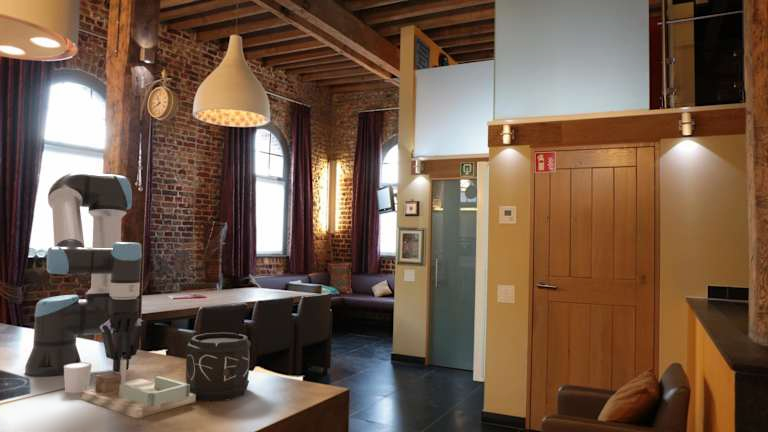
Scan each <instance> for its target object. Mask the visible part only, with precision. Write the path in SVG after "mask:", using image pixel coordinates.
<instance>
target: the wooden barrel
mask: <svg viewBox="0 0 768 432" xmlns="http://www.w3.org/2000/svg"><path fill="white" fill-rule="evenodd" d="M250 347H251V341H250V340H249V338H248V336H247V335H245V334H241V333H238V334H237V332H236V333H235V332H234V333H233V332H207V333H202V334H197V335H193V337H192V338H191V339H190V341H189V342H188V344H186V348H185V349H187V355H186V362H185V383H186V384H190V393H193V394H196V400H195V401H205V400H209V401H208V402H218V401H219V400H220V401H228V400H227V399H230V400H233V398H234V399H236V398H235V397H237V398H239V397H242V396H244V395H245V392H246V390H248V387H249V382H250V380H248V379H249V373H250V357H251V354H250V353H251V352H250ZM241 395H242V396H241ZM238 396H239V397H238ZM220 401H219V402H220Z"/></svg>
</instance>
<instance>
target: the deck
mask: <svg viewBox="0 0 768 432" xmlns="http://www.w3.org/2000/svg"><path fill="white" fill-rule="evenodd" d="M124 384H126V385H130V386H133V387H136V388H140V389H143V390H146V391H150V392H156V391H160V389H157V388H154V385H155V381H150V380H146V379H143V378H135V379H132V380H131V379H130V380H126V381H125V383H124ZM80 397H81V398H80V399H81V400H84V401H87V402H88V403H89V402H90V403H93V404H95V405H98V406H100V407H104V408H106V409H109V410H112V411H115V412H117V413H121V414H124V415H126V416H129V417H132V418H135V419H140V418H144V417H147V416H148V417H149V416H150V415H155V414H157V413H160V412H165V411H168V410H172V409H175V408H179V407H182V406H185V405H188V404H193V403H195V402H196V401H197V400H196V394H193V393H190V396H188V397H184V398H180V399H177V400H173V401H169V402H166V403H162V404H158V405H155V406H151V407H150V406H147V405H144V404H141V403H138V402H135V401H132V400H129V399H126V398H123V397H120V396H119V390H118V391H114V392H109V393H105V394H104V393H101V392H98V391H95V387H94V388H89V389H88V390H85V391H82V392H81V396H80Z"/></svg>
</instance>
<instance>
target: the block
mask: <svg viewBox="0 0 768 432" xmlns="http://www.w3.org/2000/svg"><path fill="white" fill-rule="evenodd" d="M120 385H121V375H120V374H116V373H115V372H114V371H113V372H112V371H111V372H107V373H102V374H96V375H95V387H94V388H95V391H98V392H101V393H104V394H105V393H109V392H114V391H118V390H119V389H120Z"/></svg>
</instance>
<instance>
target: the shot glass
mask: <svg viewBox="0 0 768 432" xmlns="http://www.w3.org/2000/svg"><path fill="white" fill-rule="evenodd" d="M91 371H92V363H91V362H81V363H72V364H67V365H65V366H64V374H63V378H64V392H65V393H68V394H77V393H82V391H85V390H89V386H90V379H91V378H90V377H91Z"/></svg>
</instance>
